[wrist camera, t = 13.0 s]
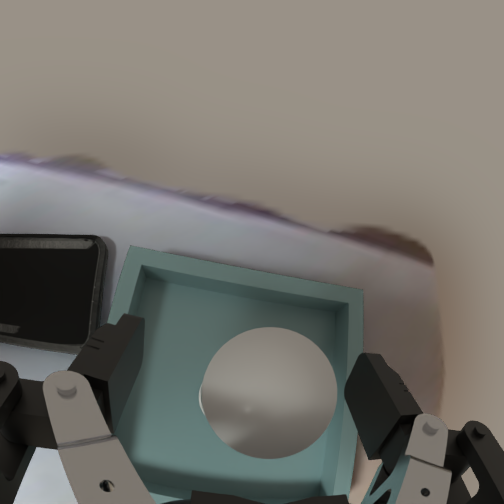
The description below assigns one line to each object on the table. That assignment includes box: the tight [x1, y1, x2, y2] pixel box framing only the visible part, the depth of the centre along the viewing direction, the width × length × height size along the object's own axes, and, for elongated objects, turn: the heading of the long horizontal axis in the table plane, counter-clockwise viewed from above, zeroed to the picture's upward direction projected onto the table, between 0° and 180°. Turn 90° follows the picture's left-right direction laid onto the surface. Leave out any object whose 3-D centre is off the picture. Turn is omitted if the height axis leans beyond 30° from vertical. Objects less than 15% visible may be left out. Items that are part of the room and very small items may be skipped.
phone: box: [0, 234, 108, 355], centre depth 16 cm, size 8×1×15 cm
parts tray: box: [107, 245, 363, 504], centre depth 15 cm, size 14×14×2 cm
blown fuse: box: [199, 327, 337, 459], centre depth 11 cm, size 3×3×10 cm
